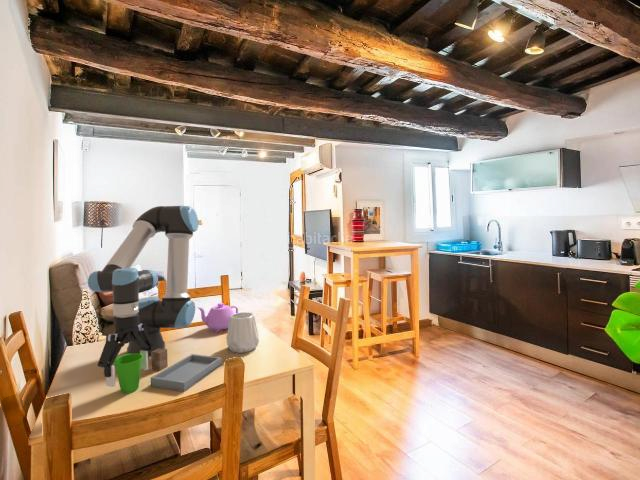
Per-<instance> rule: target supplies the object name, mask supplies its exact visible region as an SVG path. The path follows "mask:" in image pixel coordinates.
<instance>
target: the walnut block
mask: <svg viewBox="0 0 640 480" xmlns="http://www.w3.org/2000/svg"><path fill="white" fill-rule="evenodd" d="M150 358H151V359H150V360H151V362H150V364H151V370H153V371H158V372H161V371H163V370H165V369H167V368H168V367H169V366H168V361H169V360H168V348H165V349H161V348H158V349H156V350H154V351H152V352H151V356H150Z"/></svg>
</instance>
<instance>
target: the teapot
mask: <svg viewBox="0 0 640 480" xmlns="http://www.w3.org/2000/svg"><path fill="white" fill-rule="evenodd" d="M234 308H235V311H234V310H233V309H234ZM197 309H198V310H199V311H200V316H201V317H200V318H201V321H202V322H203V323H204V324H205V325H206V327H207V328H208V329H210V330H214V331H213V332H214V334H218V333H220V332H221V331H222V330H226V331H228V325H229V318H230V316H231V315H233V314H236V313H239V308H238V307H237V305H231V306H229V305H227V304H226V305H225V304H224V302H219V303H217V305H215V306H214V305H213V306H212V307H211V308H210V309H209V311H208V313H207V314H205V313H206V312H205V309H204V308H203V307H197ZM206 315H207V316H206ZM220 330H221V331H220Z"/></svg>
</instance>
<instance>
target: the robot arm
mask: <svg viewBox="0 0 640 480" xmlns="http://www.w3.org/2000/svg"><path fill="white" fill-rule="evenodd" d="M198 228H199V219H198V215H197V213H196V210H195V209H194V208H193V207H192V206H190V205H167V206H166V205H159V206H158V205H157V206H154V207H151V208H149V209H148V210H146V211H145V212H143V213H142V214H141V215H139V217H137V219H136V220H135V221H134V222H133V224H132V229H131V231H130V232H129V233H128V235H127V236H126V237H125V239H124V241H122V243H121V244H120V246H119V247H118V248H117V250H116V251H115V253H114V254H113V255H112V257H111V258H110V259H109V261H108V262H107V263H106V265H105V266H104V268H103V269H102V270H97V271H93V272H91V273H90V274H89V276H88V278H87V287H88V288H89V289H90V290H91V291H92V292H98V293H112V298H113V299H112V302H113V303H112V307H113V308H112V309H113V311H112V315H113V316H114V317H113V327H114V329H115V332H114V333H110V334H109V333H108V334H106V337H105V342H104V343H105V344H104V346H103V350H102V351H101V354H100V357H99V359H98V362H97V367H99V368H103V369H104V371H103V373H104V377H105V379H106V380H105V382H106V383H105V384H106V387H109V388H110V387H111V388H114V387H115V386H116V376H115V375H116V368H115V365H113V364H114V361H115V359H116V358H117V357H118V355H119V353H120V351H121V350H122V348H123V347H124V346H125V344H128V346H127V348H126V354H130V353H140V354H143V358H142V364H141V370H146V371H147V370H149V357H151V352H152V351H154V350H156V349H158V348H161V349H166V342H165V341H164V337H163V335H162V332H161V329H182V328H187V327H189V326H191V324H192V322H193V320H194V318H195V314H196V303H195V302H194V300H191V299H192V298H191V295H190V294H189V293H188V281H189V280H188V279H189V277H188V276H189V256H190V255H189V253H190V251H189V249H190V240H191V238H193V237H194V233H195V232H197V231H198ZM161 232H162V233H164V235H165V236H166V238H168V242H167V243H168V245H167V246H168V247H167V265H166V268H167V271H166V289H165V294H164V295H163V296H162V297H161V299H160V297H158V296H152V297H145V298H141V299H139V294H141V293H144V292H148V291H151V290H152V289H154V288H155V287H156V286H157V284H158V283H159V278H158V275H157V273H156V272H155V271H154V270H152V269H142V270H138V268H135V267H132V266H133V264H135V261H136V260H137V258H138V256H139V255H140V253H142V251H143V249H144V247H146V245H147V243H148V242H149V240H150V239H151V238H153V237H155V235H156V234H158V233H161Z"/></svg>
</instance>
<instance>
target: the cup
mask: <svg viewBox="0 0 640 480" xmlns="http://www.w3.org/2000/svg"><path fill="white" fill-rule="evenodd" d="M142 358H143V354H140V353H130V354H127V353H126V354H122V355H119V356H117V357H116V359H115V361H114V363H113V364H114V368H115V373H116V376H117V380H118V383H119V388H120V392H121V393H122V394H130V392H131V393H134V392H136V391H138V390H139V387H140V378H141V372H142V371H141V370H142V369H141V364H142Z"/></svg>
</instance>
